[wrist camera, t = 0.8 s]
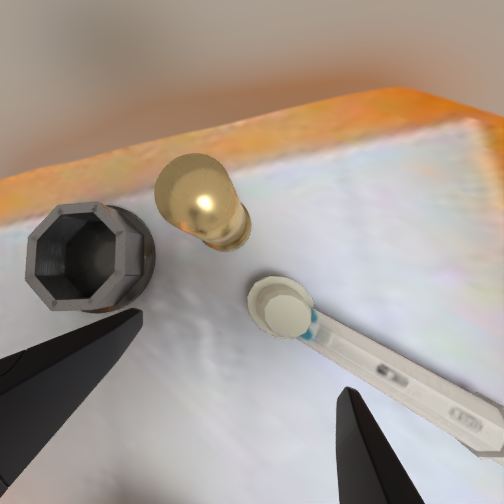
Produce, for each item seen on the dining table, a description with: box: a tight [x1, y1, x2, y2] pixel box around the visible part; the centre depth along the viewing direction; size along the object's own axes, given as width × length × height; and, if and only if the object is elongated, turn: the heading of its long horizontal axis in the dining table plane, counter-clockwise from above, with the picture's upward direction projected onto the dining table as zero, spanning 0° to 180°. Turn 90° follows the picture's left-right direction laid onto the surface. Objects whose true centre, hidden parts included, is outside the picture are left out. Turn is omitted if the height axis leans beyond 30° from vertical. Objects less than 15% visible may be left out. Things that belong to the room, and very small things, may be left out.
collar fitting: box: [25, 202, 155, 313], centre depth 22 cm, size 12×12×4 cm
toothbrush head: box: [247, 276, 504, 466], centre depth 19 cm, size 5×7×25 cm
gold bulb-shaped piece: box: [155, 153, 251, 252], centre depth 18 cm, size 6×6×10 cm
